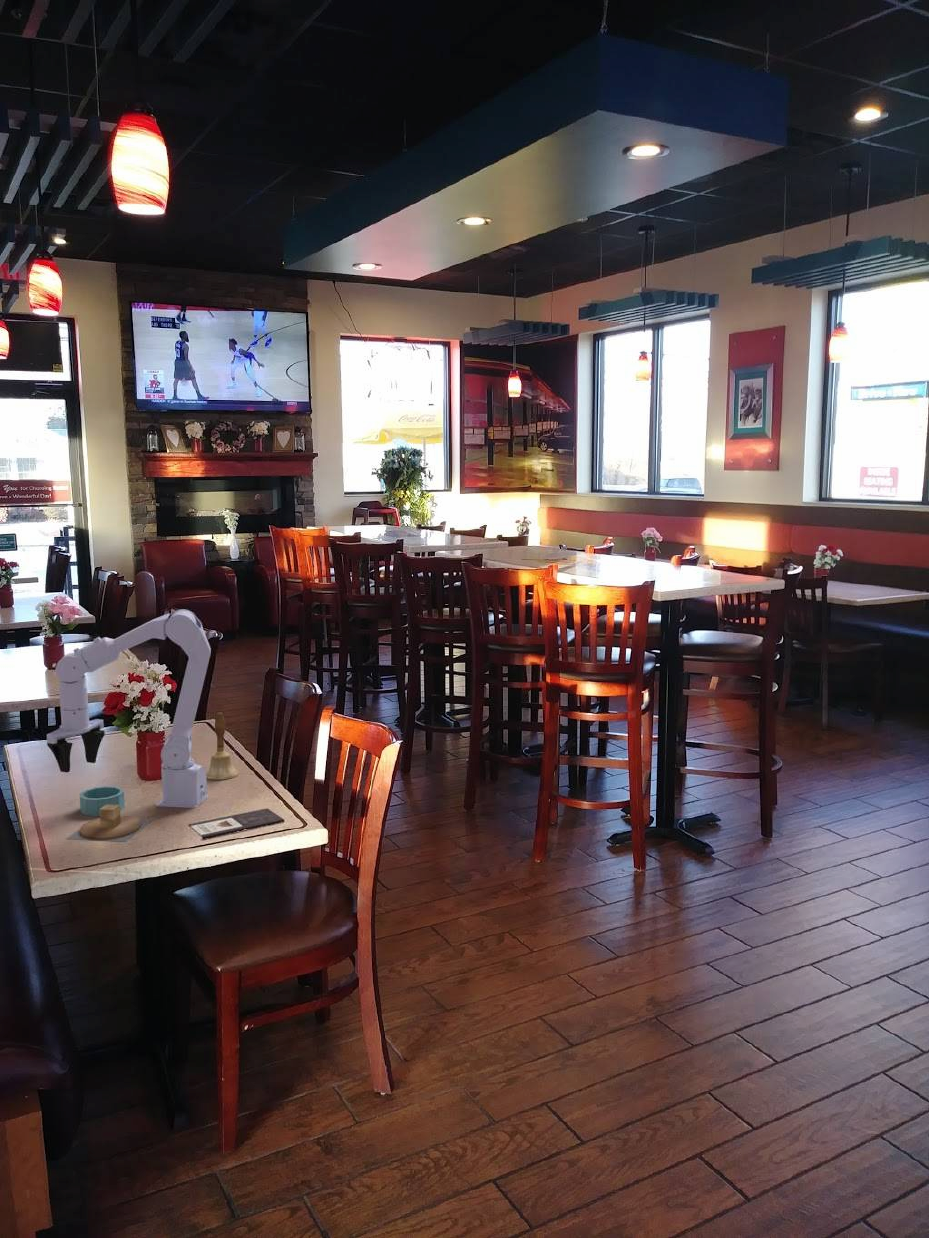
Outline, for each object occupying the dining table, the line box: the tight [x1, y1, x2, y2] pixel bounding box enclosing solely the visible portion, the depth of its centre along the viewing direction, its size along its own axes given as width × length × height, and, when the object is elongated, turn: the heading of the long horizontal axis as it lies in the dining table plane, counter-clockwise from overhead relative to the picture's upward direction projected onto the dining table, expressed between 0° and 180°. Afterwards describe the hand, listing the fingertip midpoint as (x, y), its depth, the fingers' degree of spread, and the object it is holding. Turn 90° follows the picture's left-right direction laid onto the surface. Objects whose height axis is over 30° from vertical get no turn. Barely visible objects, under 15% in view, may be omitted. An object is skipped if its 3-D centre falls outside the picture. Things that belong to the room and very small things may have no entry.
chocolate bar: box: [188, 807, 285, 840], centre depth 210 cm, size 9×1×18 cm
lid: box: [79, 805, 141, 839], centre depth 206 cm, size 12×12×5 cm
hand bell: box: [206, 711, 239, 781], centre depth 243 cm, size 8×8×16 cm
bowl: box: [79, 785, 125, 817], centre depth 219 cm, size 9×9×4 cm
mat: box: [65, 816, 154, 843], centre depth 206 cm, size 13×13×1 cm
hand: (78, 766), depth 218 cm, fingers open, 7 cm apart
